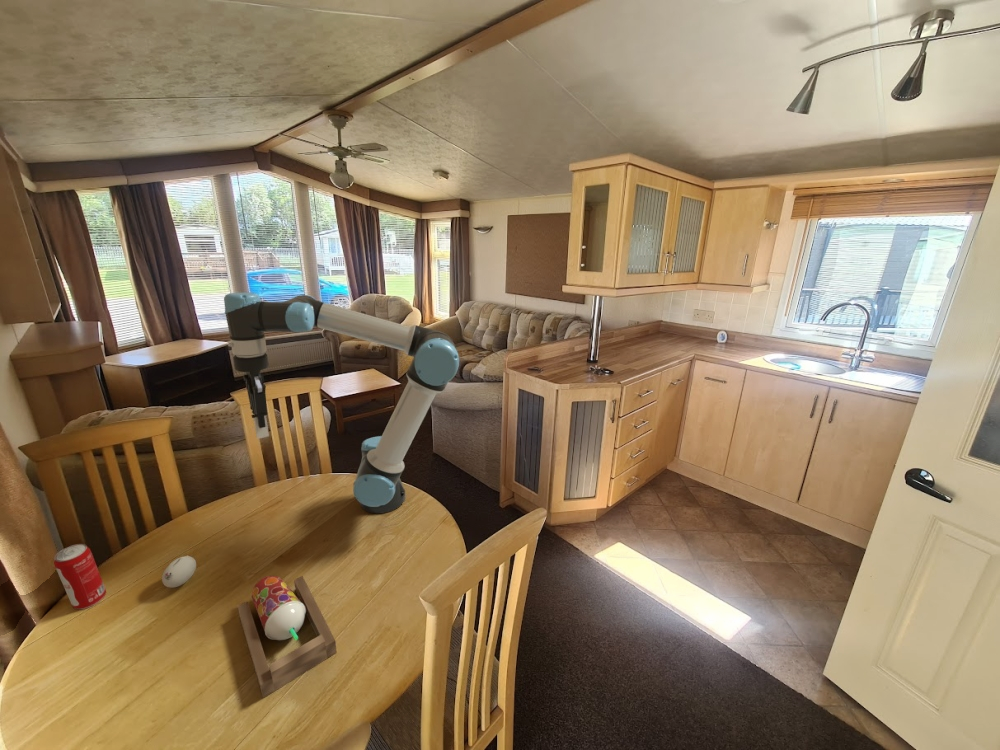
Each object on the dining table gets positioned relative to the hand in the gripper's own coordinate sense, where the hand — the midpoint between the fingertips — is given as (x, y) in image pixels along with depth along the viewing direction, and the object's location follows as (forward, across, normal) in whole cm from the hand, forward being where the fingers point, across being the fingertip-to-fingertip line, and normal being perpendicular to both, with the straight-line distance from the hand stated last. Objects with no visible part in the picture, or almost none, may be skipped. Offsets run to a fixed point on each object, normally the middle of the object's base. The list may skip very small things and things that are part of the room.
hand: (262, 436), depth 108 cm
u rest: (+32, +36, -7) cm, 49 cm away
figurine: (+33, +5, -23) cm, 40 cm away
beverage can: (+33, -2, -40) cm, 52 cm away
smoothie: (+29, +23, -8) cm, 38 cm away
